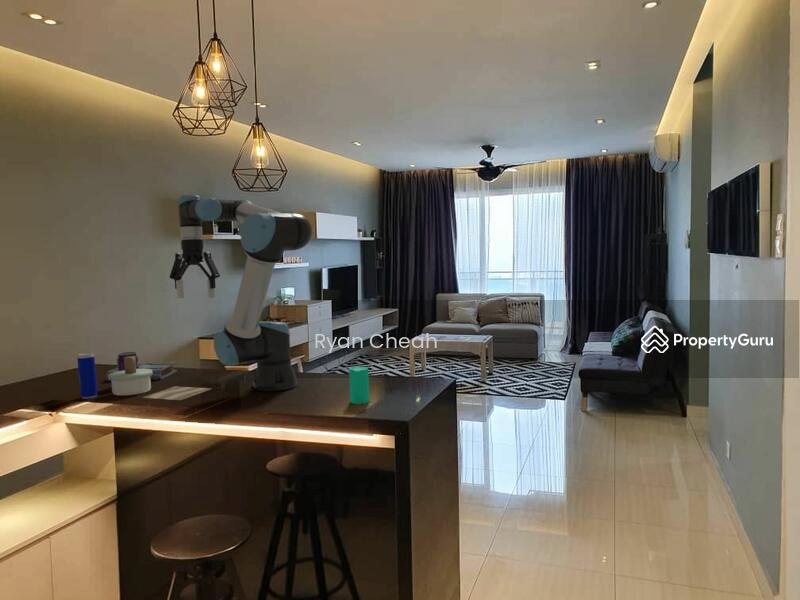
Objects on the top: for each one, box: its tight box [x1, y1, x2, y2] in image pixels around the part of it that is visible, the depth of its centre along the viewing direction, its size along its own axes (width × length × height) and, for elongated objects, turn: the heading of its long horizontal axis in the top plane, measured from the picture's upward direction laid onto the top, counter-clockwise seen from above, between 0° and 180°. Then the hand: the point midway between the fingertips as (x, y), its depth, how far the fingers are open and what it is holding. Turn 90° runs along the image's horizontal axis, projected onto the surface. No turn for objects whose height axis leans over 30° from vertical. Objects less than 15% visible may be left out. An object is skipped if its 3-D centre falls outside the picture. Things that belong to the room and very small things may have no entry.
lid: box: [108, 356, 153, 381], centre depth 208 cm, size 14×14×7 cm
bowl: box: [110, 376, 152, 396], centre depth 209 cm, size 12×12×6 cm
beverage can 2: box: [116, 351, 139, 371], centre depth 221 cm, size 7×7×12 cm
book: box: [105, 361, 178, 382], centre depth 238 cm, size 21×16×5 cm
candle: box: [348, 363, 370, 405], centre depth 186 cm, size 6×6×12 cm
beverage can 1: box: [76, 352, 98, 400], centre depth 204 cm, size 5×5×15 cm
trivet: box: [141, 385, 213, 401], centre depth 203 cm, size 16×16×1 cm
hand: (195, 298), depth 216 cm, fingers open, 13 cm apart
